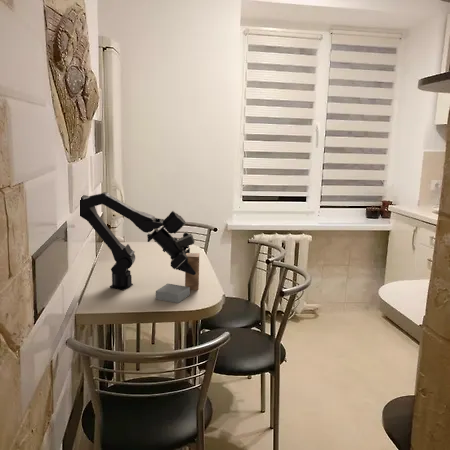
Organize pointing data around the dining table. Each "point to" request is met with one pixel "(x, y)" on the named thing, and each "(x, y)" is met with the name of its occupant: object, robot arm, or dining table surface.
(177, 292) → the slate plinth
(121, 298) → the dining table surface
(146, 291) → the dining table surface
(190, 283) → the walnut pillar
